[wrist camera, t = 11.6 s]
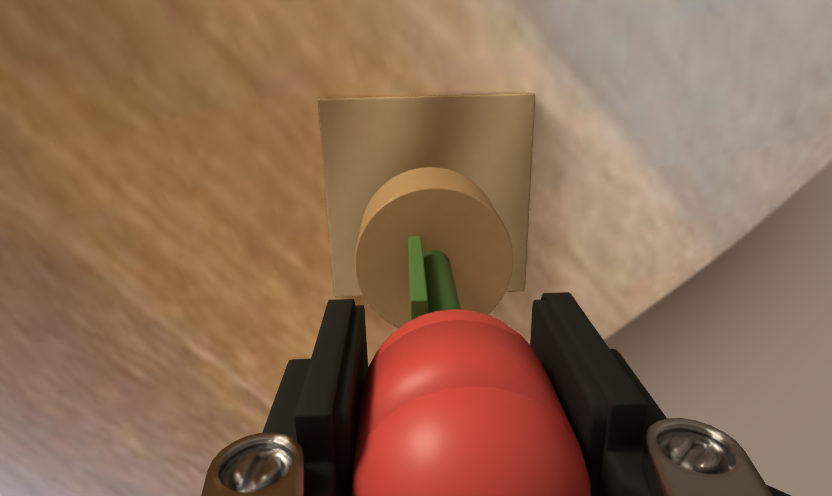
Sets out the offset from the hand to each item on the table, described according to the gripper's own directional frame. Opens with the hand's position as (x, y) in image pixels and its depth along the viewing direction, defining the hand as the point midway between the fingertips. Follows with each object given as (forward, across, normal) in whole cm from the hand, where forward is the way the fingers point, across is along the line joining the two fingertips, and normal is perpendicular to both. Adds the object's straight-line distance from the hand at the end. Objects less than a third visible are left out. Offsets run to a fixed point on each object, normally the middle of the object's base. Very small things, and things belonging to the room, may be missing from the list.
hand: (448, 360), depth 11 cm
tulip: (+8, 0, 0) cm, 8 cm away
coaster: (+13, 0, 0) cm, 13 cm away
